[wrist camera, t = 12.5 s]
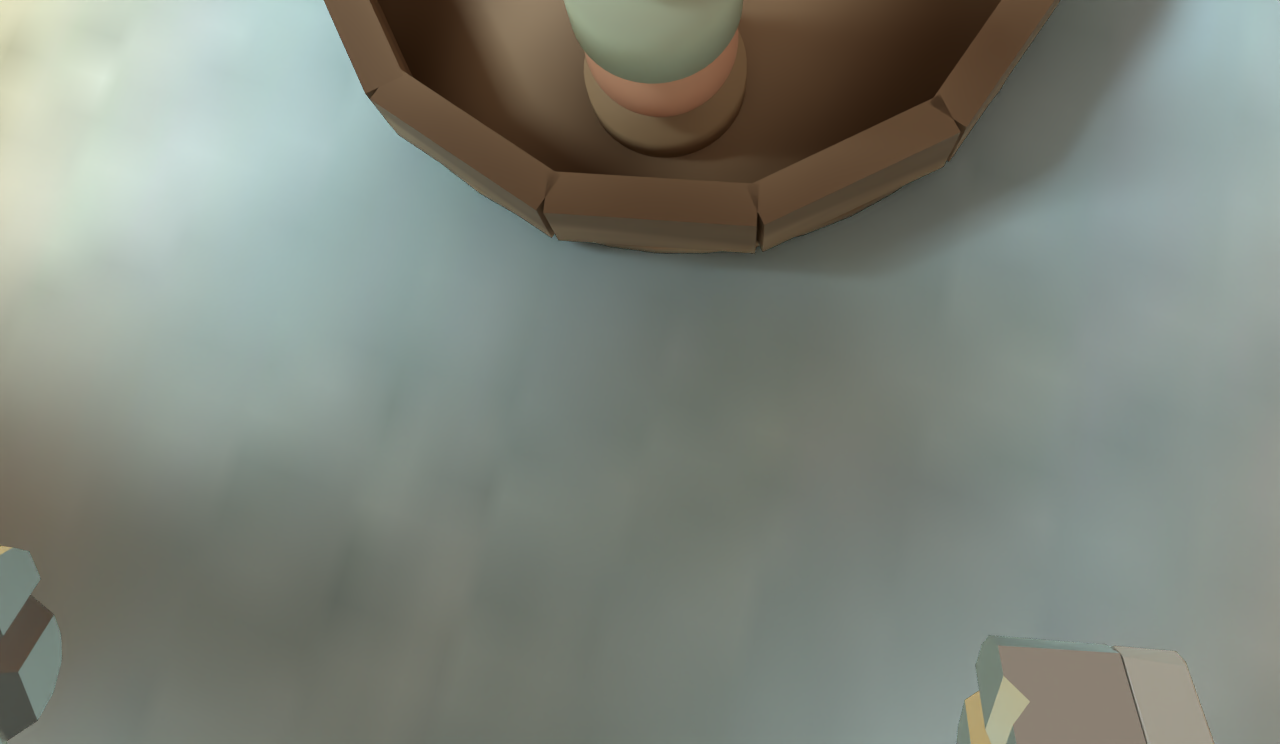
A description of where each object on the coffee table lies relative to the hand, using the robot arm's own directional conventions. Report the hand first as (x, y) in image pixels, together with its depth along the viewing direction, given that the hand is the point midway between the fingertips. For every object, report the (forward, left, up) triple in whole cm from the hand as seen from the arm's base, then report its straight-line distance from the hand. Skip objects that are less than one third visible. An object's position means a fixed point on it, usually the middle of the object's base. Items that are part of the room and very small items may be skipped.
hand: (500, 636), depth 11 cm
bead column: (-1, +13, -19) cm, 23 cm away
